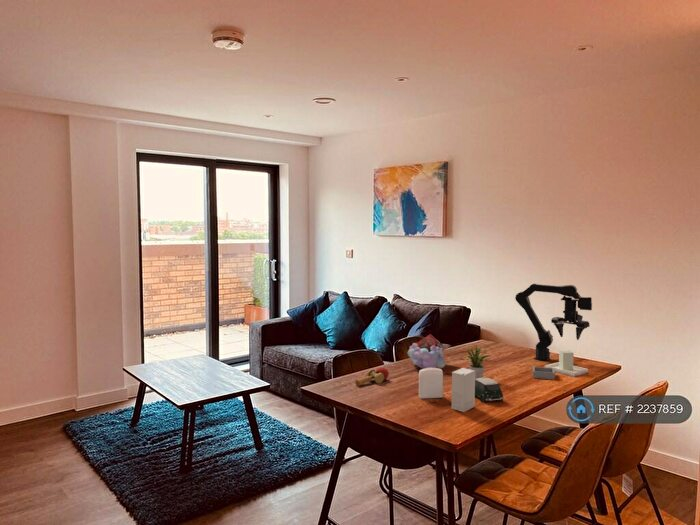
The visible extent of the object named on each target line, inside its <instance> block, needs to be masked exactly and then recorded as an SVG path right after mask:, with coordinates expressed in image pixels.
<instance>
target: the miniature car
mask: <svg viewBox="0 0 700 525" xmlns="http://www.w3.org/2000/svg"><path fill="white" fill-rule="evenodd" d="M475 396H476V397H478V398H480V402H481V403H483V404H486V403H487V401H490V402H491V401H496V400H497V401H499V402H503V401H504V398H505V397H504V394H503V391H502V389H501V386H500V383H499V382H497V381H496V380H495V379H492V378H490V377H483V378H477V379H475Z"/></svg>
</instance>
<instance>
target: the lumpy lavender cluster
mask: <svg viewBox="0 0 700 525" xmlns="http://www.w3.org/2000/svg"><path fill="white" fill-rule="evenodd" d="M450 347H452V345H451V344H446V343H441V342H440V341H439V340H438V339H436V337H435V336H434V335H432V334H431V333H430V334H428V335H426V337H423V338H422V339H421V340H419V341H418V342H413V343H412V345H410V346H409V349H408V351H407V355H408V357H409V358H410V359H411V361H412V363H413V365H416V366H417V367H419V368H420V369H425V368H438V369H441V370H442V369H443V368H445V365H446V360H445V358H444V357H445V354H444V353H443V351H445V350H446V349H448V348H450Z"/></svg>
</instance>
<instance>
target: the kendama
mask: <svg viewBox="0 0 700 525" xmlns="http://www.w3.org/2000/svg"><path fill="white" fill-rule="evenodd" d="M389 374H390V373H389V371H388V369H387V368H386V367H383V366H382V367H381V366H380V367H378V368H377V369H376V370H375V369H372V368H371V369H369V370H368V371H367V373H366V376H365V377H361V378H357V379H355V385H356V386H357V387H360V386H362V385H364V384H367V383H368V382H370V381H372V380H373V379H374V382H375V383H376V384H382V383H383V382H384V381H386V380H387V379H388V377H389Z"/></svg>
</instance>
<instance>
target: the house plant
mask: <svg viewBox="0 0 700 525" xmlns="http://www.w3.org/2000/svg"><path fill="white" fill-rule="evenodd" d="M484 348H485V346H483V347H480V345H479V346H478V344H476V345H475V350H473V349H472V347H469V349H468V348H466V349H465V351H466V352H467V354H468V355H466V359H465V361H466V363H467V362H470V363H471V364H469V365H468V369H470V370H474V371H475V379H477V378H484V371H485V365H484V363H483V362H489V363H490V362H491V359H490V358H489V357H492V355H489V353H490V352H488V351H489V350H490V348H487V349H486V350H484V352H482V351H483V349H484ZM474 351H475V353H474ZM481 352H482V353H481ZM480 354H481V355H480Z"/></svg>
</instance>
